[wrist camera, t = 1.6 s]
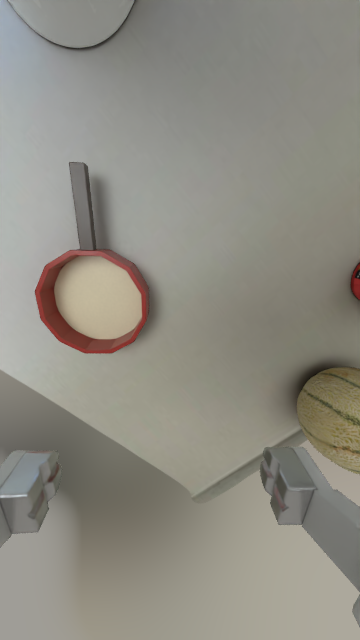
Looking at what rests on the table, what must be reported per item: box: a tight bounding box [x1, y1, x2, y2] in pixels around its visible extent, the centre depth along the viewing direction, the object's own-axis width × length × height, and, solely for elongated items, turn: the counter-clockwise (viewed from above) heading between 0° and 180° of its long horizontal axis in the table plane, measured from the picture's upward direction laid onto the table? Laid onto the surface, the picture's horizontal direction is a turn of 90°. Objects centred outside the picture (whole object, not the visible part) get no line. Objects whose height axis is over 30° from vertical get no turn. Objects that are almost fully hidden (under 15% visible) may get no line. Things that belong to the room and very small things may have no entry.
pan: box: [35, 162, 149, 353], centre depth 29 cm, size 23×14×4 cm, turn 178°
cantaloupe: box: [297, 367, 360, 474], centre depth 32 cm, size 15×15×15 cm
